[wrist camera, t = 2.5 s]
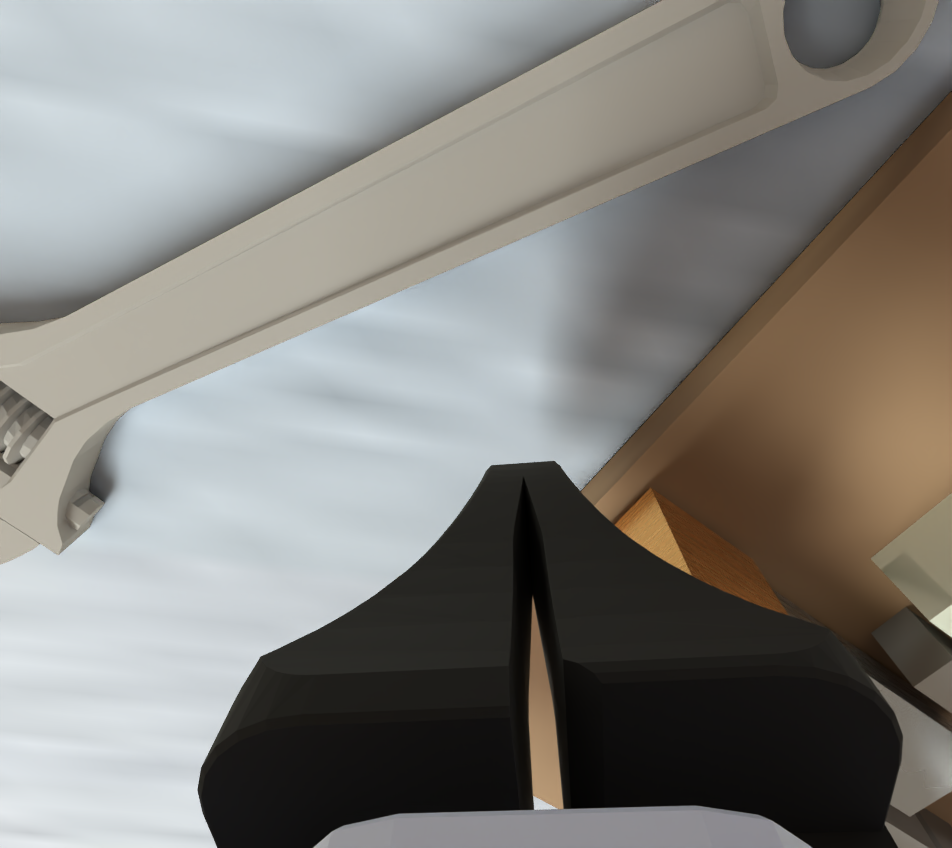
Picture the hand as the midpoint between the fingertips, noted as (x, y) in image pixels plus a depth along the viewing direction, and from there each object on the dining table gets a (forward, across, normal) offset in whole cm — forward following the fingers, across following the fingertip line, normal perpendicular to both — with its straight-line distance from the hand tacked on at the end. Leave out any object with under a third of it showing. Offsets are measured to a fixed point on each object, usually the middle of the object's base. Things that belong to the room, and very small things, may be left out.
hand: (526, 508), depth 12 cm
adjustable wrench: (+3, +5, -4) cm, 7 cm away
